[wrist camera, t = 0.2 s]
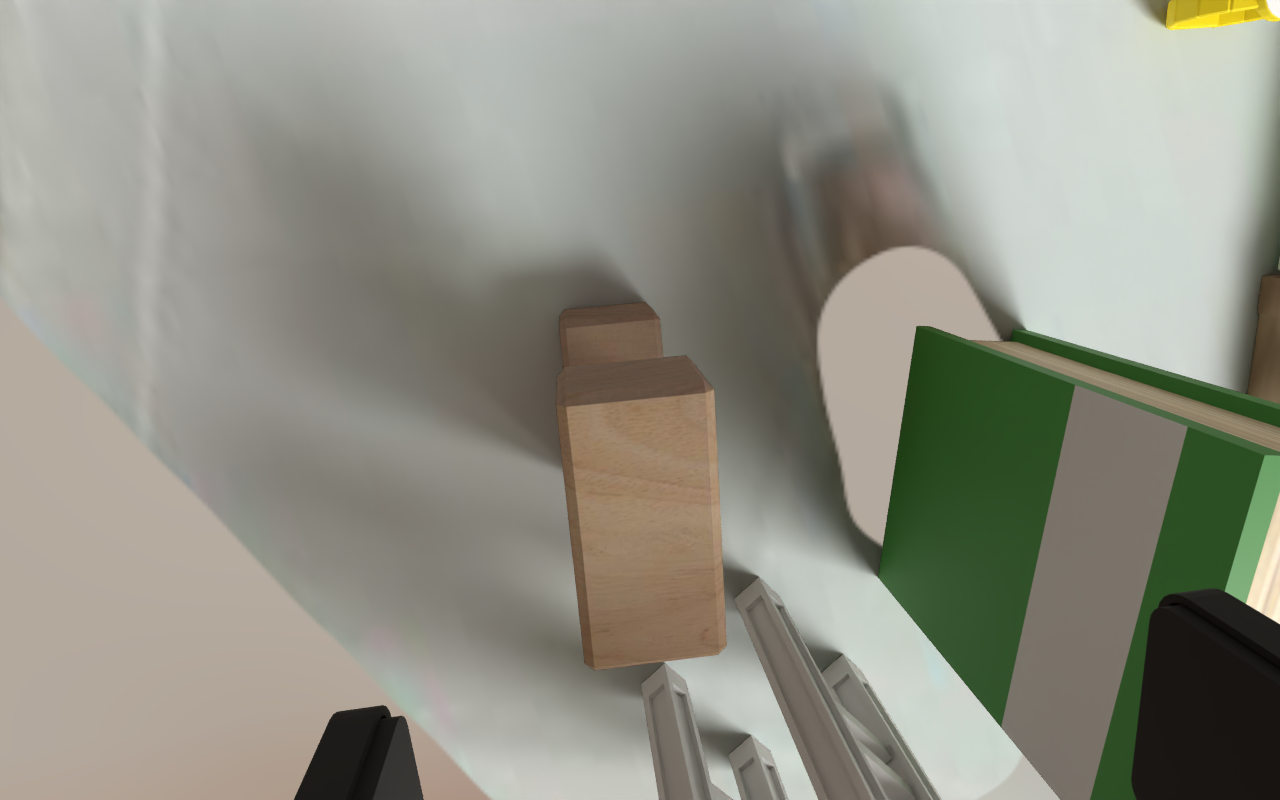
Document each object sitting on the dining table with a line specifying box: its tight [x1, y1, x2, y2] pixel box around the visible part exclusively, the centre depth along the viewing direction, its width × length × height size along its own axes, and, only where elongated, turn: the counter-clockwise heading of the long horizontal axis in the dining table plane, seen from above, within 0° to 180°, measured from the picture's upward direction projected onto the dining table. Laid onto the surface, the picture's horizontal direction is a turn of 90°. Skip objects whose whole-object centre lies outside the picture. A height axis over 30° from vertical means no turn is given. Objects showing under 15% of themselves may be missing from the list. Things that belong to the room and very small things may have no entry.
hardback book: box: [878, 326, 1280, 800], centre depth 37 cm, size 18×7×24 cm, turn 177°
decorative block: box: [556, 302, 727, 670], centre depth 36 cm, size 11×6×20 cm, turn 3°
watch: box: [1166, 0, 1280, 30], centre depth 40 cm, size 6×3×6 cm, turn 94°
